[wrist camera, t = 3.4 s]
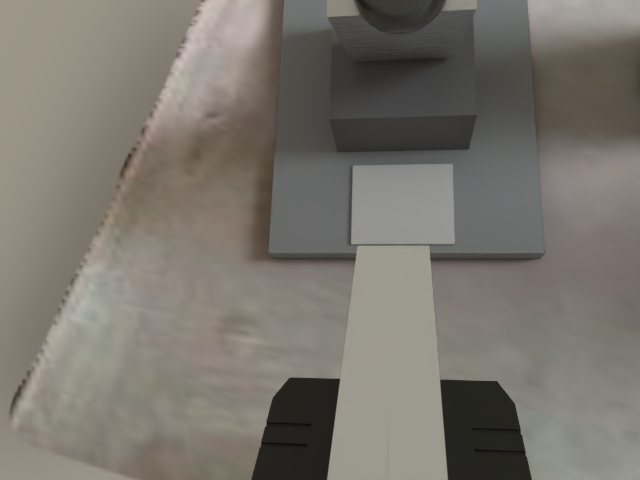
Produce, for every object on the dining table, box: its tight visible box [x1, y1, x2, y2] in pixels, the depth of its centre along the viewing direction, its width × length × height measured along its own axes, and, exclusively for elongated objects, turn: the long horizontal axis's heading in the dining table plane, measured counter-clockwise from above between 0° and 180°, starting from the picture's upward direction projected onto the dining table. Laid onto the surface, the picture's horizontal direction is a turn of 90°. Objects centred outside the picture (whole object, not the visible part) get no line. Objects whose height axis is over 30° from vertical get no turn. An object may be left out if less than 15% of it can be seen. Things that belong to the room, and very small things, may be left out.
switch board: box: [268, 0, 545, 258], centre depth 37 cm, size 22×16×6 cm
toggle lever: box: [327, 0, 477, 62], centre depth 27 cm, size 4×6×14 cm, turn 89°
